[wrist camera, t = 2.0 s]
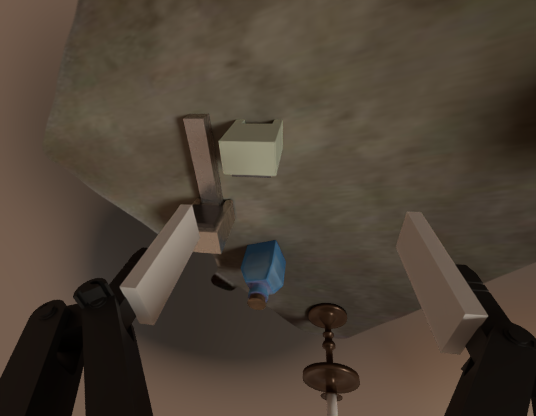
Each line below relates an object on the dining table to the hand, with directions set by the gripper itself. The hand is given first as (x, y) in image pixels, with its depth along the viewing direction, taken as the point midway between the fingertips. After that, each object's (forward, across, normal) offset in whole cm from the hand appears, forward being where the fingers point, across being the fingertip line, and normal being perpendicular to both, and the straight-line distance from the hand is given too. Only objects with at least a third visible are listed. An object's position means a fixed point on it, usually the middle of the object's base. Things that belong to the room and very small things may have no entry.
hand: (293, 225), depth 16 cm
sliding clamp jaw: (+25, -6, -2) cm, 26 cm away
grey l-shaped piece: (+25, -15, -10) cm, 31 cm away
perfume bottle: (+25, -6, -27) cm, 38 cm away
